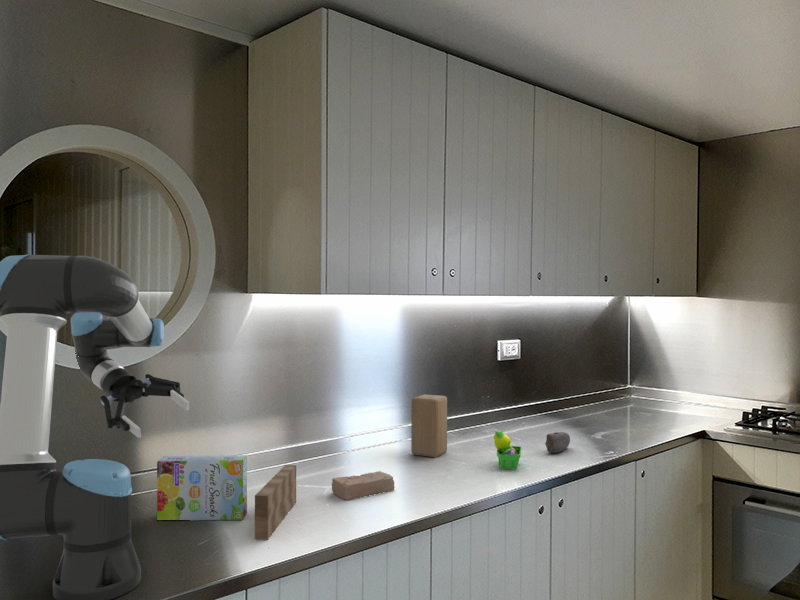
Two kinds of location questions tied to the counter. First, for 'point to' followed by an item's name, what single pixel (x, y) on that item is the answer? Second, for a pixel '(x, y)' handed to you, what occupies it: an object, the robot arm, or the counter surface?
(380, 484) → the brick
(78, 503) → the robot arm
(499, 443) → the fruit basket
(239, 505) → the snack box
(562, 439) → the perforated stone tool
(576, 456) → the counter surface
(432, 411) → the block
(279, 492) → the walnut board
